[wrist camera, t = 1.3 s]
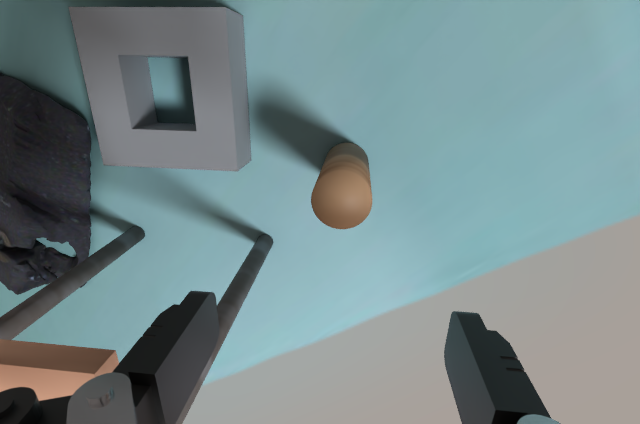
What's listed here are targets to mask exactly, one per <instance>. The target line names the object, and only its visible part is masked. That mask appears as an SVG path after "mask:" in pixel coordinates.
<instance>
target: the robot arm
mask: <svg viewBox="0 0 640 424" xmlns="http://www.w3.org/2000/svg"><path fill="white" fill-rule="evenodd" d="M218 338H219V321H218V313H217V305H216V297H215V294H214V293H213V292H201V291H191V292H189V293H188V295H187V296H186V297H185V299H184V300H183V301H182V302H181V304H180V305H175V304H174V305H172V306H171V307H169V308H168V309H166V310H165V311H164V312H162V313H161V314H160V315H159V316H158V317H157V318H156V319H155V321H154V322H153V323H152V324H151V327H149V328H148V329H147V330H146V332H145V333H144V334H143V337H141V338H140V339H139V340H138V341H137V342H136V344H135V345H134V346H133V347H132V349H131V350H130V351H129V352H128V353H127V355H126V356H125V357H124V358H123V359H122V361H121V362H120V363H119V364H118V366H117V367H116V368H115V369H114V370H113V372H112V373H106V374H102V375H99V376H97V377H95V378H93V379H91V380H89V381H87V382H86V383H84V384H83V385H82V386H80V387H79V388H78V389H77V390H76V391H75V392H74V394H73V395H70V396H64V397H59V398H53V399H47V400H42V401H39V400H38V398H37V395H36V393H35V391H34V390H33V389H31V388H28V387H16V388H11V389H7V390H5V391H2V392H0V424H176V422H177V420H178V418H179V416H180V414H181V412H182V410H183V408H184V406H185V405H186V403H187V401H188V399H189V397H190V395H191V393H192V391H193V389H194V387H195V385H196V383H197V382H198V380H199V378H200V376H201V374H202V372H203V370H204V368H205V366H206V364H207V362H208V361H209V359H210V357H211V355H212V353H213V351H214V349H215V347H216V345H217V342H218ZM444 354H445V355H444V358H445V366H446V370H447V374H448V377H449V381H450V384H451V387H452V391H453V394H454V398H455V401H456V405H457V408H458V411H459V415H460V418H461V421H462V424H560V423H559V422H557V421H555V420H553V419H551V417H550V415H549V413H548V412H547V410H546V408H545V406H544V405H543V403H542V401H541V399H540V397H539V395H538V394H537V392H536V390H535V389H534V386H533V385H532V383H531V381H530V379H529V377H528V376H527V374H526V372H524V368H523V367H522V365H521V363H520V361H519V360H518V359H517V356H516V354H515V352H514V351H513V349H512V347H511V345H510V343H509V342H508V341H506V340H505V339H504V338H503V337H502V336H501V335H500V334H499V333H498V332H497V331H490V330H487V329H486V327H485V325H484V323H483V321H482V319H481V317H480V315H479V314H477V313H469V312H455V311H454V312H452V314H451V319H450V323H449V329H448V334H447V339H446V344H445V351H444Z"/></svg>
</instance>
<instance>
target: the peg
mask: <svg viewBox="0 0 640 424" xmlns="http://www.w3.org/2000/svg"><path fill="white" fill-rule="evenodd" d="M311 204H312V208H313V211H314V213H315V215H316V216H317V217H318V219H319V220H320V221H322V222H323V223H324V224H326V225H328V226H330V227H332V228H336V229H348V228H352V227H355V226H357V225H359V224H360V223H361V222H363V221H364V220H365V219H366V217H367V216H368V214H369V213H370V210H371V207H372V193H371V183H370V173H369V163H368V158H367V155H366V153H365V152H364V150H363V149H362V148H361V147H359V146H358V145H356V144H353V143H340V144H338V145H336V146H334V147H333V148H332V149H331V150H330V151H329V152H328V154H327V156H326V159H325V161H324V164H323V166H322V169H321V171H320V174H319V177H318V179H317V182H316V184H315V187H314V189H313V192H312V197H311Z"/></svg>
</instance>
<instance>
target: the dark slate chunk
mask: <svg viewBox="0 0 640 424" xmlns="http://www.w3.org/2000/svg"><path fill="white" fill-rule="evenodd" d="M90 150H91V136H90V128H89V126H88V123H87V122H86V121H85V120H84V119H83V118H81V117H80V116H78V115H77V114H76V113H74V112H72V111H71V110H69V109H66V108H65V107H63V106H61V105H60V104H58V103H56V102H55V101H53V100H52V99H50V98H49V97H48V96H47V95H44V94H42V93H41V92H37V91H35V90H31V89H30V88H29V87H28V86H26V85H25V84H24V83H22V82H21V81H19V80H16V79H14V78H11V77H9V76H4V75H3V74H2V73H0V281H1V282H2V283H3V284H4V285H5V286H6V287H7V288H8V290H12V291H13V292H14V293H15V294H17V295H18V294H21V293H24V292H26V291H28V290H30V289H33V288H35V287H39V286H41V285H44V284H49V283H51V282H53V281H54V280H56V279H57V277H58V278H59V277H60V276H62V275H63V274H65V273H66V272H68V271H69V270H70V269H72V268H73V267H75V266H76V265H78V264H79V263H81V262H82V261H84V260H85V259H87V258H88V256H89V249H90V243H91V242H90V239H89V238H90V236H91V230H90V228H89V227H91V221H90V215H89V207H90V201H91V195H90V186H91V181H90V175H91V173H90V167H91V161H90ZM41 237H44V238H47V240H49V241H51V242H60V243H64V242H66V241H68V242H69V244H70V245H71V246H72V247H73V248H74V250H75V252H76V253H77V257H70V256H68V255H64V254H62V253H60V252H58V251H57V250H56V249H54V248H52V247H48V248H46V246H45V245H43V244H42V243H40V242H37V241H35V240H36V238H41ZM56 275H57V276H56ZM86 283H87V282H86ZM86 283H85V284H86ZM85 284H83V285H82V286H84V285H85ZM82 286H81V287H82ZM81 287H80V288H81Z"/></svg>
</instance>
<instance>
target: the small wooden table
mask: <svg viewBox="0 0 640 424" xmlns="http://www.w3.org/2000/svg"><path fill="white" fill-rule="evenodd" d="M144 237H145V233H144V231H143V229H142V228H140V227H138V226H134V227H132V228H131V229H129V230H128V231H126V232H125V233H123V234H122V235H120V236H119V237H117V238H116V239H114V240H113V241H112V242H110V243H109V244H107V245H106V246H104V247H103V248H101V249H100V250H98V251H97V252H95V253H94V254H92V255H91V256H90V257H88V258H87V259H85V260H84V261H82V262H81V263H79V264H78V265H76V266H75V267H73V268H72V269H70V270H69V271H68V272H66V273H65V274H63V275H62V276H60V277H59V278H57V279H56V280H54V281H53V282H51V283H50V284H48V285H47V286H46V287H44V288H43V289H41V290H40V291H38V292H37V293H35V294H34V295H32V296H31V297H29V298H28V299H26V300H25V301H24V302H22V303H21V304H19V305H18V306H16V307H15V308H13V309H12V310H10V311H9V312H7V313H6V314H4V315H3V316H2V317H0V392H2V391H5V390H7V389H11V388H16V387H28V388H31V389H33V390H34V391H35V393H36V395H37V398H38V400H39V401H42V400H47V399H53V398H59V397H64V396H70V395H73V394H74V392H75V391H76V390H77V389H78V388H79V387H80V386H82V385H83V384H84V383H86V382H87V381H89V380H91V379H93V378H95V377H97V376H99V375H102V374H106V373H112V372H113V370H114V369H115V368H116V367H117V366H118V364H119V362H118V358H117V354H116V350H107V349H97V348H86V347H76V346H66V345H55V344H45V343H35V342H24V341H14V340H12V339H13V338H14V337H15V336H17V335H18V334H19V333H21V332H22V331H23V330H25V329H26V328H27V327H29V326H30V325H31V324H32V323H34V322H35V321H36V320H38V319H39V318H40V317H42V316H43V315H44V314H45V313H47V312H48V311H49V310H51V309H52V308H53V307H55V306H56V305H57V304H58V303H60V302H61V301H62V300H64V299H65V298H66V297H68V296H69V295H70V294H72V293H73V292H74V291H75V290H77V289H78V288H79V287H81V286H82V285H83V284H85V283H86V282H87V281H88V280H90V279H91V278H92V277H94V276H95V275H96V274H98V273H99V272H100V271H101V270H103V269H104V268H105V267H107V266H108V265H109V264H111V263H112V262H113V261H114V260H116V259H117V258H118V257H120V256H121V255H122V254H124V253H125V252H126V251H128V250H129V249H130V248H131V247H133V246H134V245H135V244H137V243H138V242H139V241H141V240H142V239H143V238H144ZM272 245H273V239H272V238H271V237H270V236H269V235H267V234H263V235H261V236H259V238H258V239H257V241H256V243H255V244H254V246H253V248H252V249H251V251H250V253H249V254H248V256H247V257H246V259H245V261H244V262H243V264H242V266H241V267H240V269H239V271H238V272H237V274H236V276H235V277H234V279H233V280H232V282H231V284H230V285H229V287H228V289H227V290H226V292H225V294H224V295H223V297H222V299H221V300H220V302H219V303H218V305H217V313H218V321H219V338H218V342H217V345H216V347H215V349H214V351H213V353H212V355H211V357H210V359H209V361H208V362H207V364H206V366H205V368H204V370H203V372H202V374H201V376H200V378H199V380H198V382H197V383H196V385H195V387H194V389H193V391H192V393H191V395H190V397H189V399H188V401H187V403H186V405H185V406H184V408H183V410H182V412H181V414H180V416H179V418H178V420H177V422H176V424H182V423H183V421H184V419H185V417H186V415H187V413H188V411H189V409H190V407H191V405H192V403H193V401H194V399H195V397H196V395H197V393H198V391H199V389H200V387H201V385H202V383H203V381H204V379H205V377H206V375H207V373H208V371H209V370H210V368H211V366H212V364H213V362H214V360H215V358H216V356H217V354H218V352H219V350H220V348H221V346H222V344H223V342H224V340H225V338H226V336H227V334H228V332H229V330H230V328H231V326H232V324H233V322H234V320H235V318H236V316H237V314H238V312H239V310H240V308H241V306H242V304H243V302H244V300H245V298H246V296H247V294H248V292H249V290H250V288H251V286H252V284H253V282H254V280H255V278H256V276H257V274H258V272H259V270H260V268H261V266H262V264H263V262H264V260H265V258H266V256H267V254H268V252H269V250H270V249H271V247H272Z"/></svg>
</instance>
